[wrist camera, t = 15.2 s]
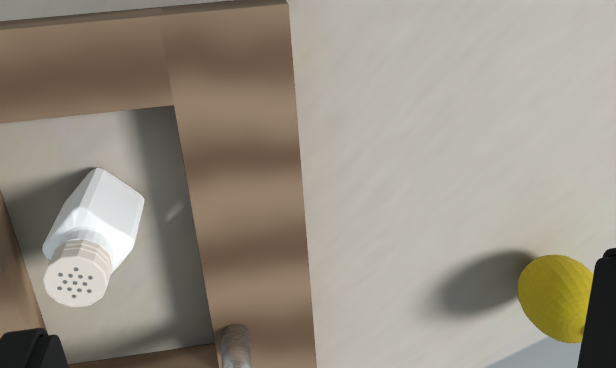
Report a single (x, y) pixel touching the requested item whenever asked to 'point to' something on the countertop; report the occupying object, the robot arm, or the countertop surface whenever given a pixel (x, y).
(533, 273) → the lemon
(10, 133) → the countertop surface
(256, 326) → the wooden frame with handle
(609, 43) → the countertop surface
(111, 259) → the pepper shaker
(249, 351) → the metal grab handle
